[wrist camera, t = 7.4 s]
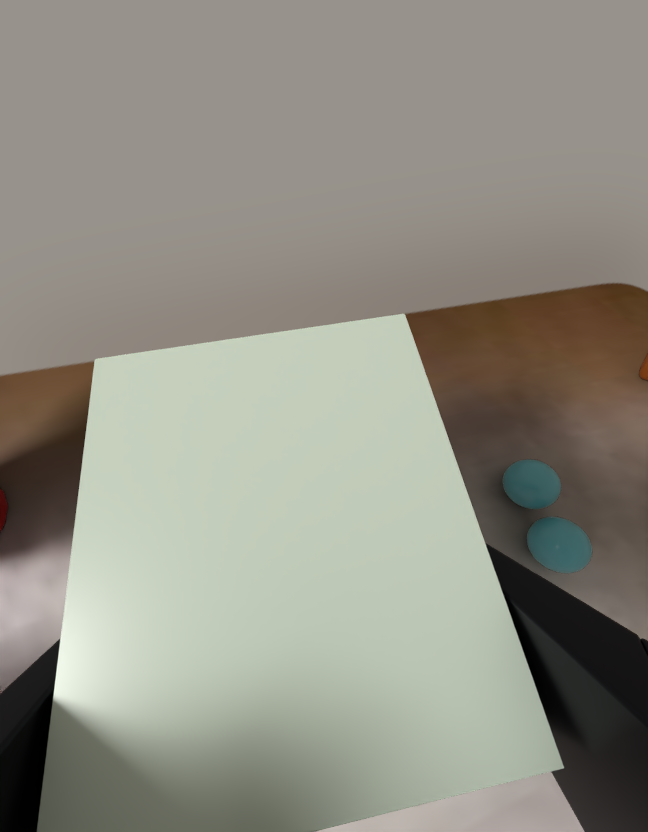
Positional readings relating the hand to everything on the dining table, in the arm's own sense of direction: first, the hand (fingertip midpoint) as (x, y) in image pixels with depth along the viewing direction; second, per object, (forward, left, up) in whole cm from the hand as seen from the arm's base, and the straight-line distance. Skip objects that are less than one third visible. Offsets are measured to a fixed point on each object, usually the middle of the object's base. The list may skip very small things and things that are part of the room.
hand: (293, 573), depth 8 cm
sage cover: (+1, -1, -7) cm, 7 cm away
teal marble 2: (-9, -11, -13) cm, 19 cm away
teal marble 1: (-6, -13, -13) cm, 19 cm away
